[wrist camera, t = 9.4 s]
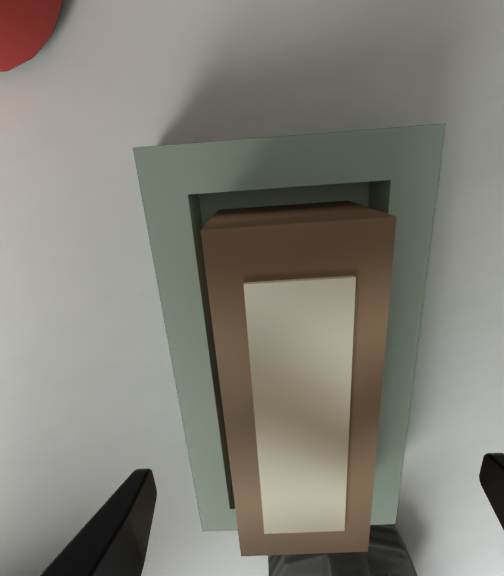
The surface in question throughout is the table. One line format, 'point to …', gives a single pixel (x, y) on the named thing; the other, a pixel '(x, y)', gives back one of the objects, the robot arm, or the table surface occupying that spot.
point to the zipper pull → (351, 559)
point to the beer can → (25, 29)
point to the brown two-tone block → (301, 367)
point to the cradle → (271, 192)
